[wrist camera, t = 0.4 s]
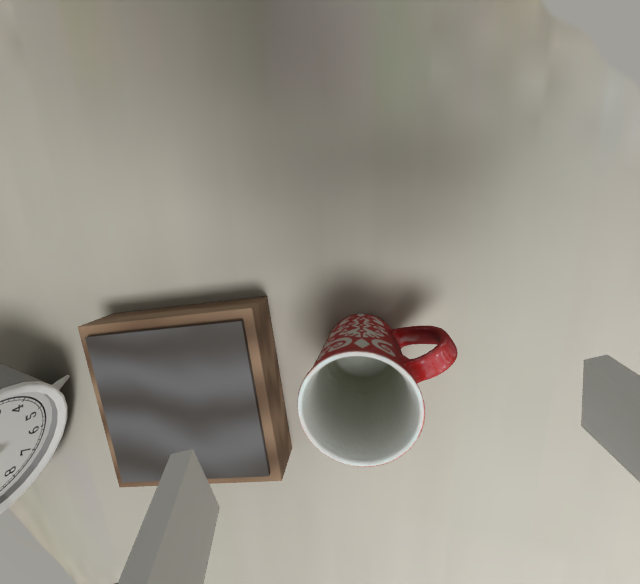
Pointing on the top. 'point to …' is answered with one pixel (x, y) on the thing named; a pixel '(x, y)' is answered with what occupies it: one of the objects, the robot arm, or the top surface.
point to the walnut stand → (190, 390)
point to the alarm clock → (27, 429)
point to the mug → (370, 390)
